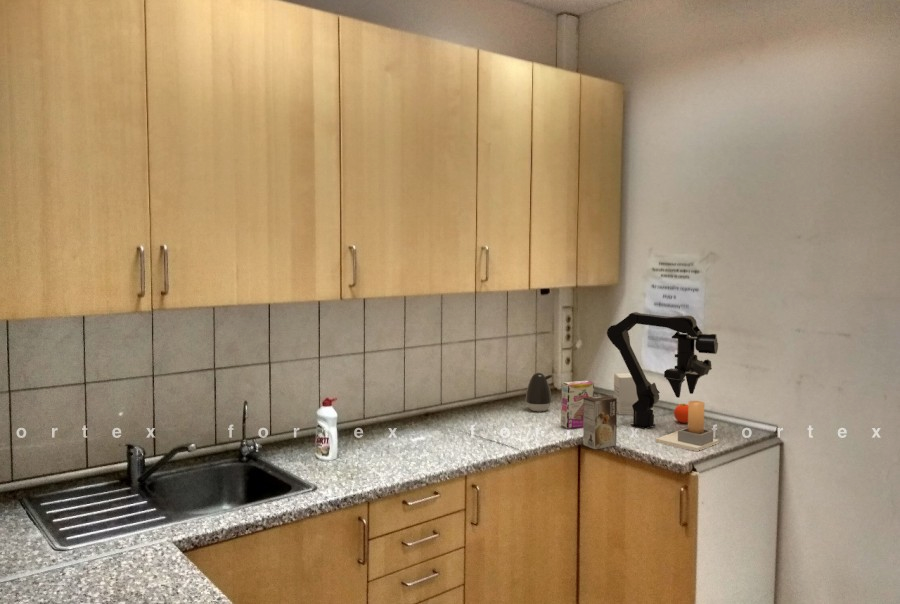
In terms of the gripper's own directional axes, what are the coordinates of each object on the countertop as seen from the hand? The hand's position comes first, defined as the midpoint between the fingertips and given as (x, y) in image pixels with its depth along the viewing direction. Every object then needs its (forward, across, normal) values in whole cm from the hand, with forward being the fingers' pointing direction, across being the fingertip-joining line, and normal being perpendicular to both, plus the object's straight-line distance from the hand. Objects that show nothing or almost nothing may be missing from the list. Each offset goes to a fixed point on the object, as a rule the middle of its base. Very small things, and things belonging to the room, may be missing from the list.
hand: (684, 395), depth 253 cm
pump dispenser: (+13, -13, +56) cm, 59 cm away
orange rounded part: (+12, -12, -11) cm, 20 cm away
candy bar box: (+13, -22, +30) cm, 40 cm away
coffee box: (+13, -36, +10) cm, 40 cm away
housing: (+13, -12, -8) cm, 19 cm away
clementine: (+13, +12, +7) cm, 19 cm away
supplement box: (+13, +10, +30) cm, 34 cm away
